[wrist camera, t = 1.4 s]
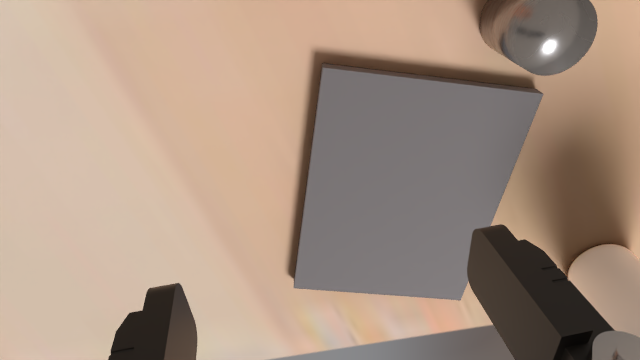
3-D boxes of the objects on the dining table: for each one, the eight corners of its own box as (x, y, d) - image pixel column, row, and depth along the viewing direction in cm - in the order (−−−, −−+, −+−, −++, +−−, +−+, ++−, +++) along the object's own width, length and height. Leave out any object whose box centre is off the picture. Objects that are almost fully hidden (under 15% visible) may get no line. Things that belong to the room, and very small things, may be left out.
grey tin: (471, 48, 26) (503, 70, 22) (492, -23, 24) (532, -14, 20) (532, 55, 27) (576, 79, 22) (558, -14, 25) (611, -2, 20)
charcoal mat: (294, 279, 35) (293, 288, 34) (322, 63, 26) (322, 67, 26) (456, 291, 37) (460, 300, 36) (535, 88, 28) (543, 94, 27)
